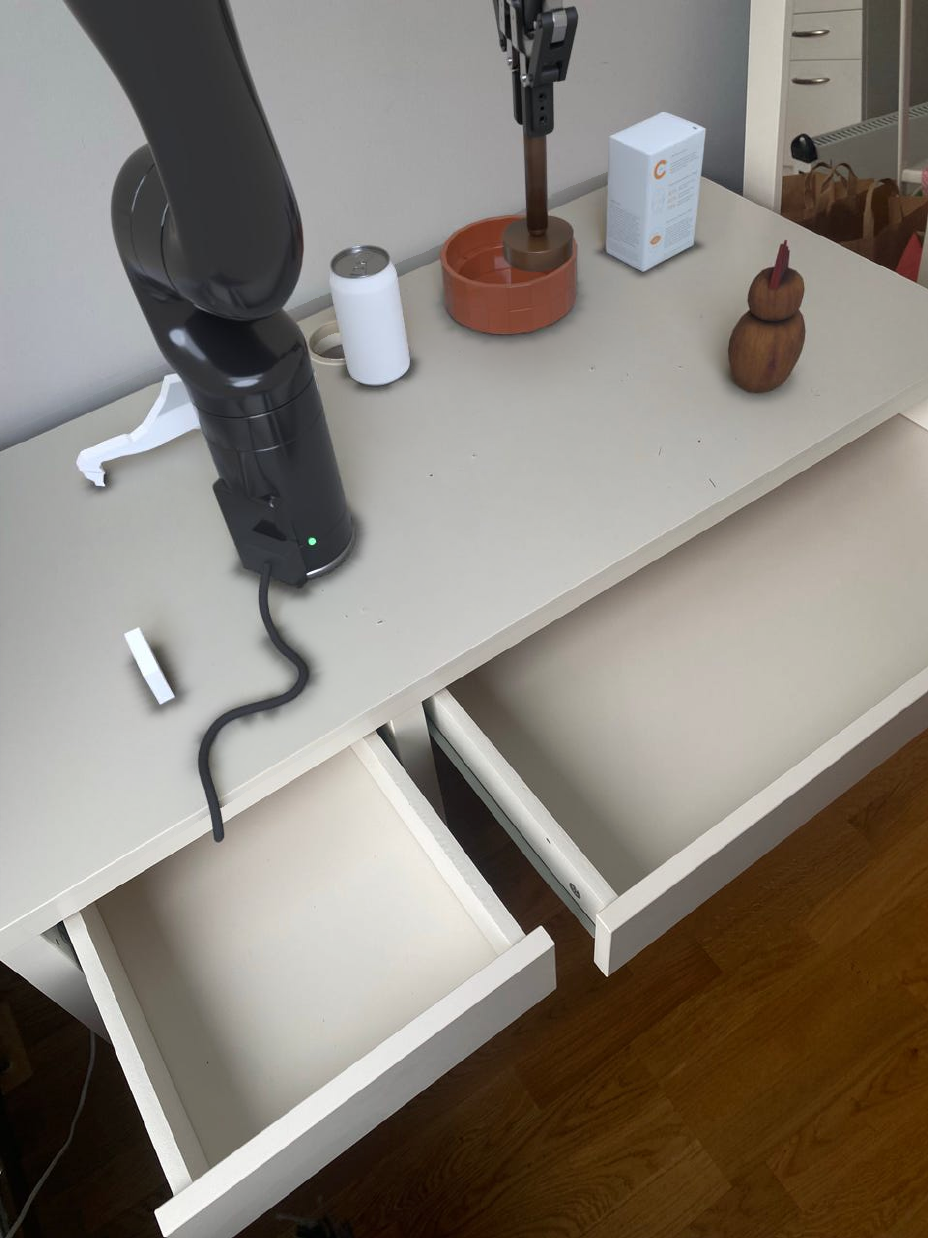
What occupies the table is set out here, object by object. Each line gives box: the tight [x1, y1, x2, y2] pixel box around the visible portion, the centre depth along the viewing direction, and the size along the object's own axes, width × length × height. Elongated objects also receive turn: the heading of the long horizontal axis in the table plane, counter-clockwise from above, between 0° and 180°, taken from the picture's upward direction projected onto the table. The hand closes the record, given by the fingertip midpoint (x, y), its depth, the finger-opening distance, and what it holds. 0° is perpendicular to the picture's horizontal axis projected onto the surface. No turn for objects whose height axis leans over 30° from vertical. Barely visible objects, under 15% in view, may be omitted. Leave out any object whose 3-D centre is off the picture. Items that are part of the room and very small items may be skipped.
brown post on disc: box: [502, 82, 575, 272], centre depth 74 cm, size 6×6×15 cm
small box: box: [605, 111, 707, 273], centre depth 102 cm, size 8×6×13 cm
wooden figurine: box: [727, 239, 807, 394], centre depth 85 cm, size 7×6×15 cm
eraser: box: [123, 627, 176, 705], centre depth 72 cm, size 1×5×4 cm, turn 31°
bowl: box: [439, 214, 579, 335], centre depth 100 cm, size 14×14×6 cm
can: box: [328, 244, 411, 387], centre depth 92 cm, size 6×6×12 cm
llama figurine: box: [75, 372, 201, 487], centre depth 89 cm, size 2×11×18 cm
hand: (533, 126), depth 72 cm, fingers closed on brown post on disc
